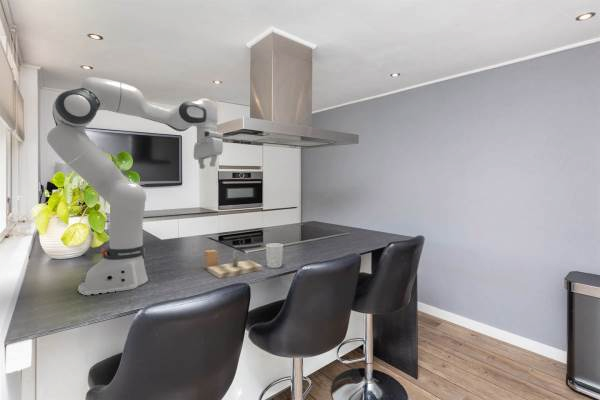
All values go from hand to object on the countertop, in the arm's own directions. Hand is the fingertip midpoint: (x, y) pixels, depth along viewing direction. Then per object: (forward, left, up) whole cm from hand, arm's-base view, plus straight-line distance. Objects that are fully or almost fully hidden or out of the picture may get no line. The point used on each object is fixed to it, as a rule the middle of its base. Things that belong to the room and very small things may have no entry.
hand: (207, 167), depth 133 cm
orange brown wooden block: (+1, -1, -45) cm, 45 cm away
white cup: (+26, -15, -46) cm, 55 cm away
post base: (+8, -11, -45) cm, 47 cm away
